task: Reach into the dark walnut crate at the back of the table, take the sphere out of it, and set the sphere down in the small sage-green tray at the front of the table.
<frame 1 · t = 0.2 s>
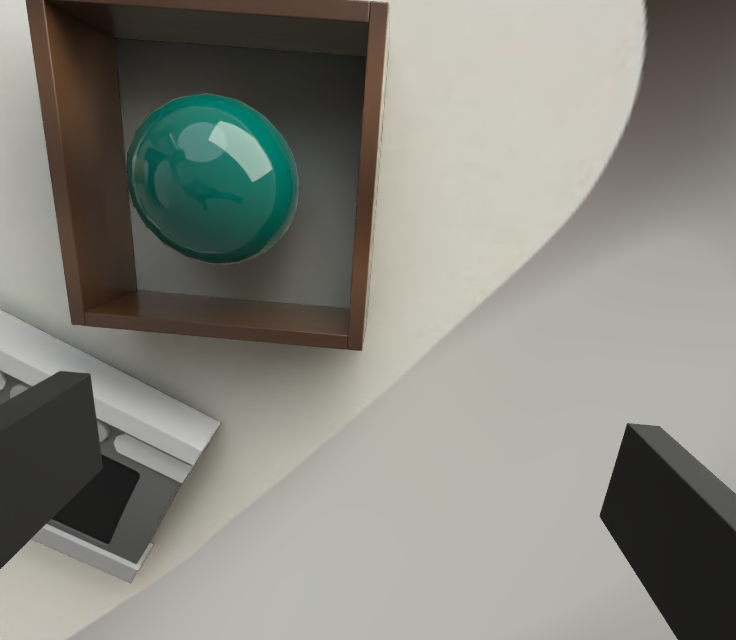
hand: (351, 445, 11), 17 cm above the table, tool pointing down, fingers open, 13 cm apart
sphere: (245, 184, 25), resting in crate
alarm clock: (72, 444, 31), on the table, touching tray
crate: (244, 184, 25), on the table
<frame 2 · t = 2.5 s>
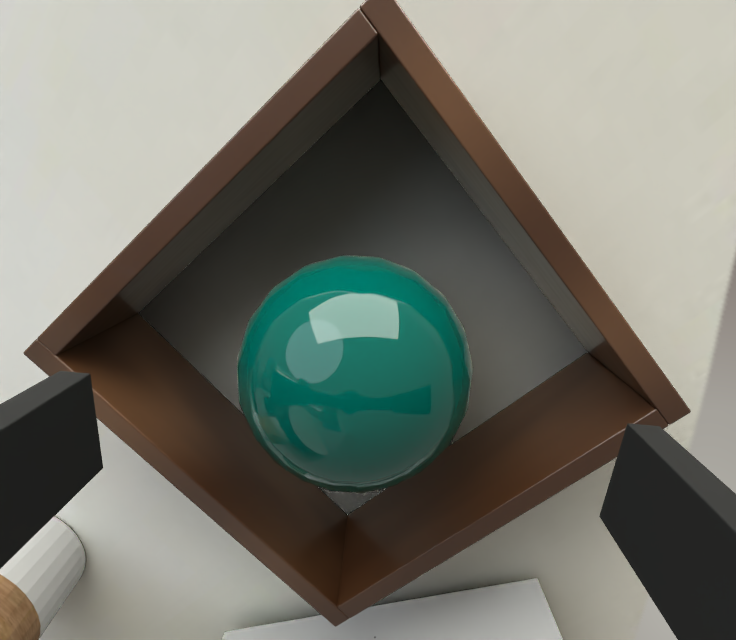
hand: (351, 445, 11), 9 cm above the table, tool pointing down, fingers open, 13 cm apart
sphere: (361, 330, 19), resting in crate
coffee cup: (35, 546, 23), on the table
crate: (361, 332, 19), on the table
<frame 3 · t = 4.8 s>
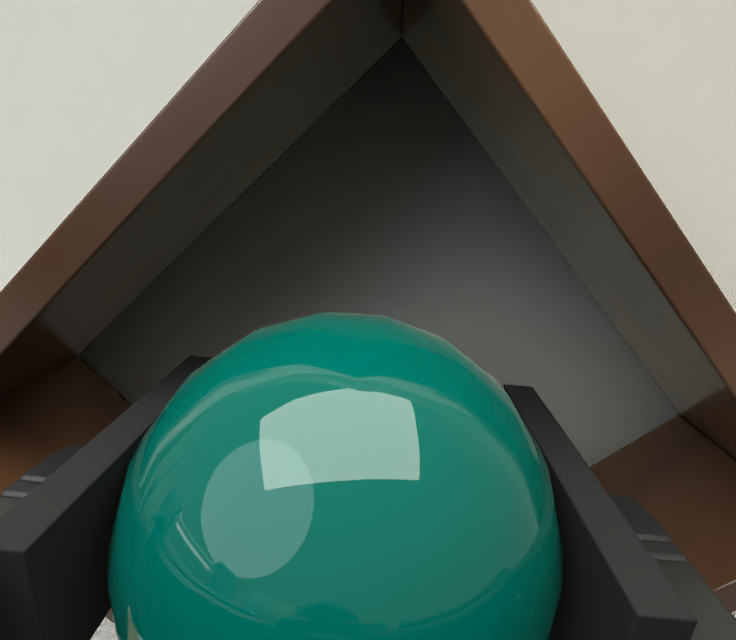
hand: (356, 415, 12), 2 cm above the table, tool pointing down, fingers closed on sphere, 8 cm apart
sphere: (357, 406, 12), point 2 cm above the table, touching gripper
crate: (371, 384, 14), on the table
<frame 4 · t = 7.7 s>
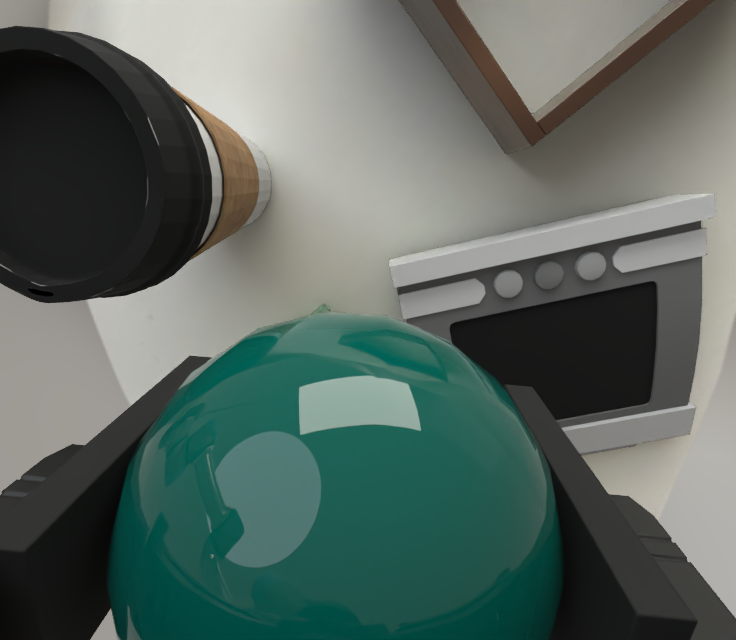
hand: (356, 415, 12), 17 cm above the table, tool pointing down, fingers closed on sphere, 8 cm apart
sphere: (357, 406, 12), point 17 cm above the table, touching gripper
alarm clock: (537, 343, 29), on the table, touching tray
coffee cup: (226, 180, 27), on the table
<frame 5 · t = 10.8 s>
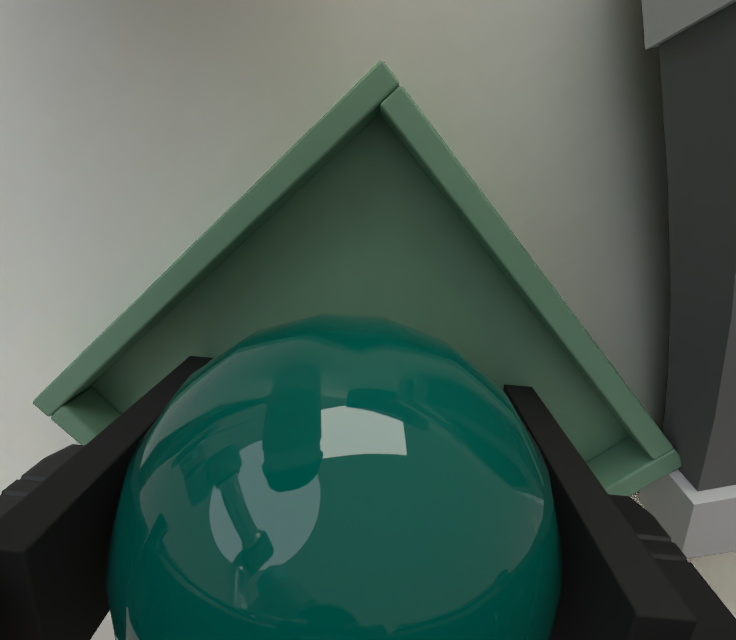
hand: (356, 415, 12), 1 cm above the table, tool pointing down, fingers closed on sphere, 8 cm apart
sphere: (356, 408, 12), resting on tray, touching gripper
tray: (357, 403, 13), on the table
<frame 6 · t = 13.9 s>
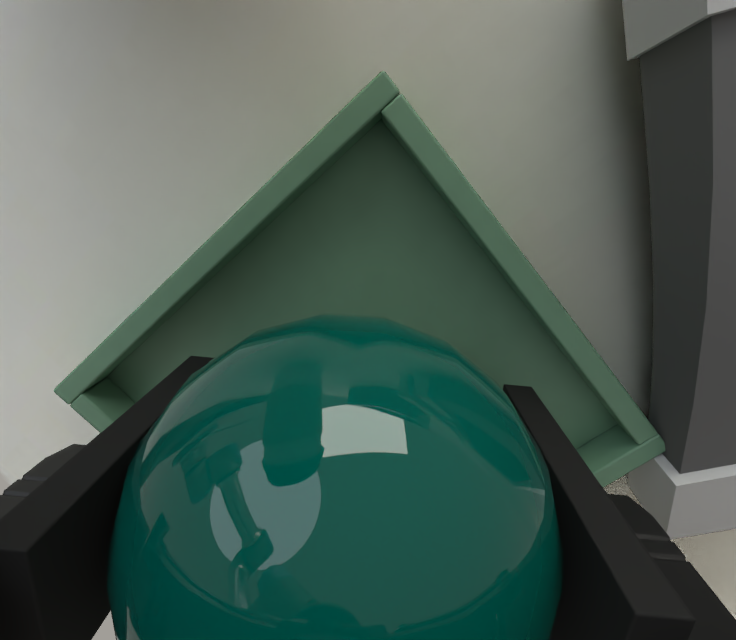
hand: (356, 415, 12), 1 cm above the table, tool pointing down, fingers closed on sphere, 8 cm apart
sphere: (357, 408, 12), point 1 cm above the table, touching gripper
tray: (359, 393, 13), on the table
when the fingers open (1 cm above the table, at t = 16.3 s): sphere stays where it is, resting on tray.
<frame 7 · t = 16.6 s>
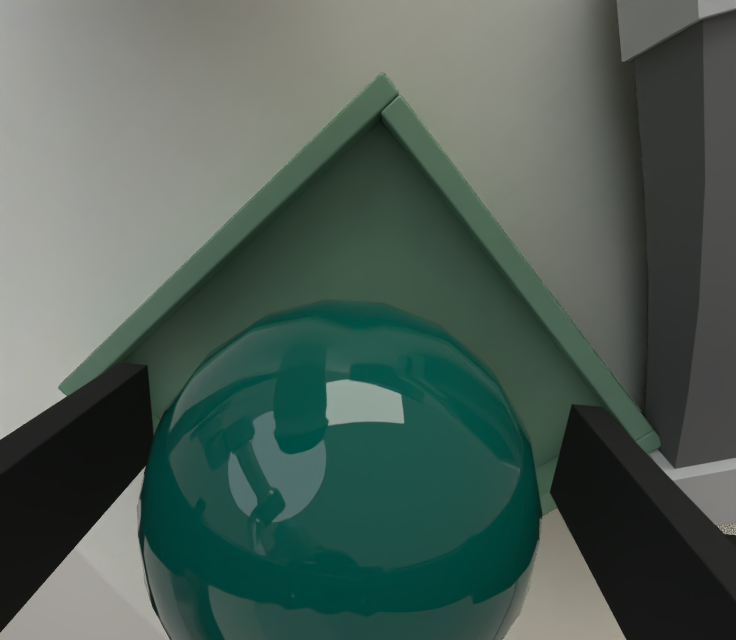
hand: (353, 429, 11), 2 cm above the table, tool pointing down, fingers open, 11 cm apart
sphere: (358, 392, 13), resting on tray
tray: (359, 389, 13), on the table
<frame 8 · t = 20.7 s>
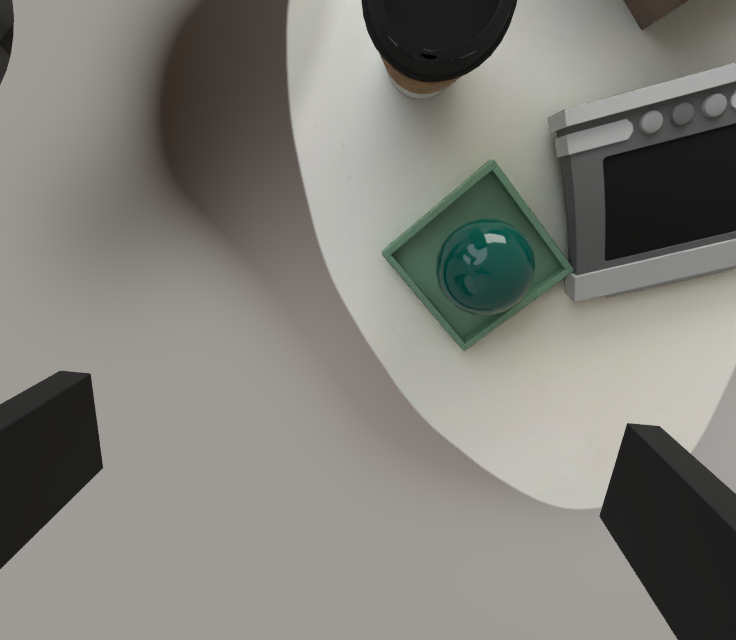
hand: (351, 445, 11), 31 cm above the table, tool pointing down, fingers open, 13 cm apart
sphere: (474, 259, 39), resting on tray
alarm clock: (656, 188, 37), on the table, touching tray
tray: (474, 259, 40), on the table
coffee cup: (421, 59, 35), on the table
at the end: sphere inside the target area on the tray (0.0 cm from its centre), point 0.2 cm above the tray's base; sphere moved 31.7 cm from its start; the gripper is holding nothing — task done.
